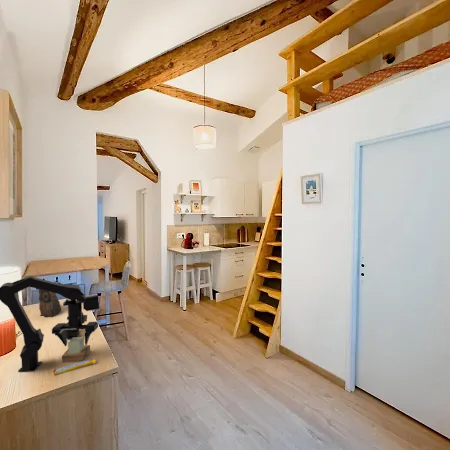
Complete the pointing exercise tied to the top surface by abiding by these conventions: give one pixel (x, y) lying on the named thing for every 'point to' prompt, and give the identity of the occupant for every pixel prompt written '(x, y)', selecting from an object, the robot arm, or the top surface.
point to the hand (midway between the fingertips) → (76, 345)
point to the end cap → (72, 333)
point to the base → (76, 355)
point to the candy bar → (74, 367)
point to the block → (76, 345)
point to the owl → (48, 304)
